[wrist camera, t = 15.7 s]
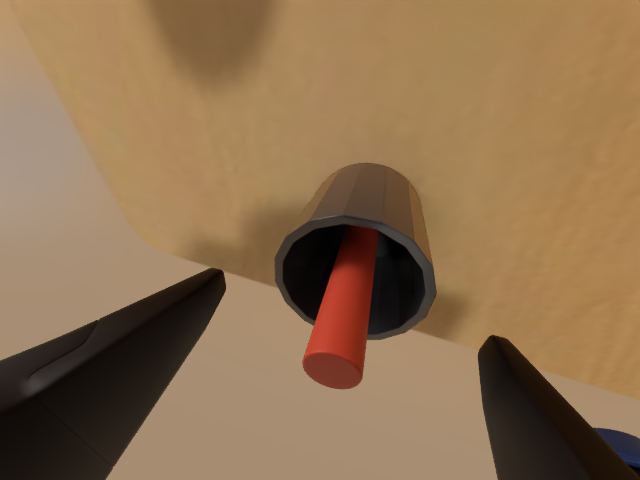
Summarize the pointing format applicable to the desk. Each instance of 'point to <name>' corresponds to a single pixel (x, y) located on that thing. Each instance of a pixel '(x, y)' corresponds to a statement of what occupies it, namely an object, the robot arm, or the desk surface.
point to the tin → (391, 257)
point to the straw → (344, 314)
